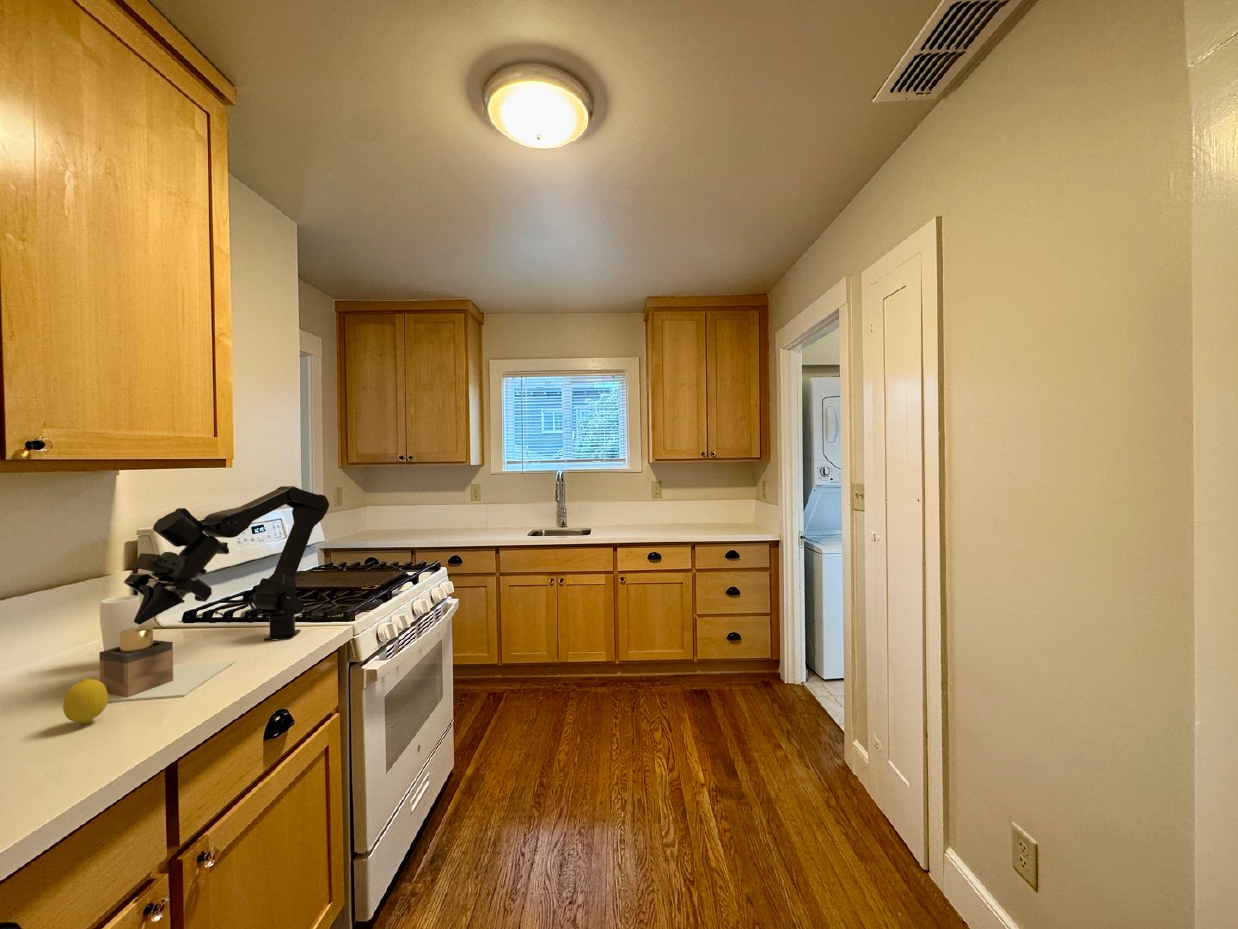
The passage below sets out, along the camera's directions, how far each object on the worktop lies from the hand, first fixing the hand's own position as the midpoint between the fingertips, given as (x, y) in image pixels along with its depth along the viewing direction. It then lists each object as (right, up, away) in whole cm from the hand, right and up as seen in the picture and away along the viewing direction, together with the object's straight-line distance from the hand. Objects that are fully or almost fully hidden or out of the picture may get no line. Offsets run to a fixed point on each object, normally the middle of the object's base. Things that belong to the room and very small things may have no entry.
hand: (136, 623), depth 107 cm
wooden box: (0, -13, 0) cm, 13 cm away
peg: (0, -10, 0) cm, 10 cm away
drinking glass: (-16, -14, +14) cm, 25 cm away
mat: (+3, -13, +3) cm, 14 cm away
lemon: (+4, -14, -14) cm, 20 cm away
